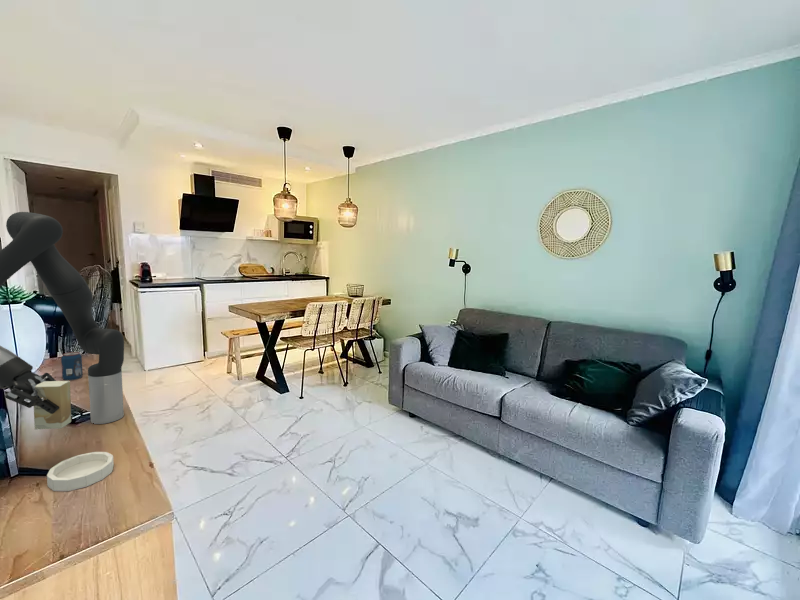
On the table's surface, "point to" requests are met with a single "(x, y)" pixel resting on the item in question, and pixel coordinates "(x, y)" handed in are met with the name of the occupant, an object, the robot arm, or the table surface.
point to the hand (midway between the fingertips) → (61, 406)
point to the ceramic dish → (80, 471)
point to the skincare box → (59, 396)
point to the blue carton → (71, 366)
